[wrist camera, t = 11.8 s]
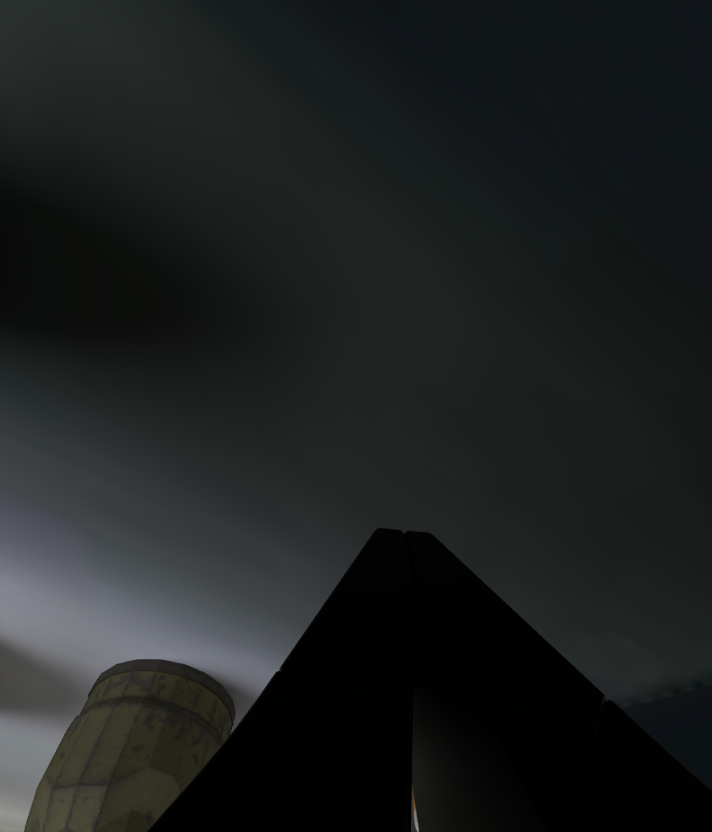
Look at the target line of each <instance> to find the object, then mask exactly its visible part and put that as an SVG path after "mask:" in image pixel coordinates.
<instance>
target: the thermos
mask: <svg viewBox="0 0 712 832" xmlns="http://www.w3.org/2000/svg"><path fill="white" fill-rule="evenodd" d="M234 718H235V709H234V705H233V701H232V699H231V697H230V696H229V695H228V693H227V692H226V691H225V689H224V688H223V687H222V686H221V685H220V684H219V683H217V682H216V681H215V680H213V679H212V678H210V677H209V676H208V675H206V674H205V673H202V672H200V671H198V670H195V669H193V668H191V667H188V666H186V665H183V664H178V663H173V662H168V661H164V660H134V661H129V662H125V663H121V664H117V665H115V666H113V667H111V668H110V669H108V670H106V671H105V672H103V673H101V675H100V676H99V678H98V679H97V681H96V682H95V683H94V685H93V687H92V689H91V691H90V693H89V695H88V699H87V701H86V703H85V705H84V707H83V709H82V711H81V713H80V715H78V716H76V718H75V719H74V721H73V722H72V723H71V725H70V726H69V728H68V729H67V731H66V733H65V735H64V737H63V739H62V741H61V743H60V745H59V746H58V748H57V750H56V752H55V754H54V756H53V758H52V760H51V762H50V764H49V766H48V768H47V770H46V772H45V774H44V775H43V777H42V779H41V781H40V783H39V785H38V787H37V790H36V793H35V796H34V800H33V803H32V806H31V809H30V812H29V816H28V819H27V822H26V825H25V830H24V832H146V831H147V830H148V829H149V828H150V826H151V825H152V824H153V823H154V822H155V821H156V820H157V819H158V817H159V816H160V815H161V814H162V813H163V812H164V811H165V810H166V809H167V807H168V806H169V805H170V804H171V803H172V802H173V801H174V800H175V799H176V797H177V796H178V795H179V794H180V793H181V792H182V791H183V790H184V789H185V787H186V786H187V785H188V784H189V783H190V782H191V781H192V779H193V778H194V777H195V776H196V775H197V774H198V772H199V771H200V770H201V769H202V768H203V767H204V765H205V764H206V763H207V762H208V761H209V760H210V758H211V757H212V756H213V755H214V754H215V752H216V751H217V750H218V749H219V748H220V747H221V745H222V744H223V743H224V742H225V741H226V740H227V738H228V737H229V736H230V732H231V729H232V726H233V722H234Z"/></svg>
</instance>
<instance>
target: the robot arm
mask: <svg viewBox="0 0 712 832" xmlns="http://www.w3.org/2000/svg"><path fill="white" fill-rule="evenodd" d="M605 700H606V698H605V695H604V694H603V693H602V692H601V691H600V690H599V689H598V688H596V687H595V686H594V685H593V684H592V683H591V682H590V681H589V680H588V679H587V678H586V677H585V676H584V675H583V674H581V673H580V672H579V671H578V670H577V669H576V668H575V667H574V666H573V665H572V664H571V663H570V662H569V661H567V660H566V659H565V658H564V657H563V656H562V655H561V654H560V653H559V652H558V651H557V650H556V649H555V648H554V647H552V646H551V645H550V644H549V643H548V642H547V641H546V640H545V639H544V638H543V637H542V636H541V635H540V634H539V633H537V632H536V631H535V630H534V629H533V628H532V627H531V626H530V625H529V624H528V623H527V622H526V621H525V620H524V619H522V618H521V617H520V616H519V615H518V614H517V613H516V612H515V611H514V610H513V609H512V608H511V607H510V606H509V605H507V604H506V603H505V602H504V601H503V600H502V599H501V598H500V597H499V596H498V595H497V594H496V593H495V592H494V591H492V590H491V589H490V588H489V587H488V586H487V585H486V584H485V583H484V582H483V581H482V580H481V579H480V578H479V577H477V576H476V575H475V574H474V573H473V572H472V571H471V570H470V569H469V568H468V567H467V566H466V565H465V564H464V563H462V562H461V561H460V560H459V559H458V558H457V557H456V556H455V555H454V554H453V553H452V552H451V551H450V550H448V549H447V548H446V547H445V546H444V545H443V544H442V543H441V542H440V541H439V540H438V539H437V538H436V537H435V536H433V535H432V534H430V533H427V532H417V531H406V532H405V533H404V534H403V532H402V531H401V530H395V529H385V528H378V529H376V530H375V531H374V533H373V534H372V535H371V537H370V538H369V540H368V541H367V543H366V544H365V546H364V547H363V548H362V550H361V551H360V553H359V554H358V556H357V557H356V559H355V560H354V561H353V563H352V564H351V566H350V567H349V569H348V570H347V572H346V573H345V574H344V576H343V577H342V579H341V580H340V582H339V583H338V585H337V586H336V588H335V589H334V590H333V592H332V593H331V595H330V596H329V598H328V599H327V601H326V602H325V603H324V605H323V606H322V608H321V609H320V611H319V612H318V614H317V615H316V616H315V618H314V619H313V621H312V622H311V624H310V625H309V627H308V628H307V629H306V631H305V632H304V634H303V635H302V637H301V638H300V640H299V641H298V642H297V644H296V645H295V647H294V648H293V650H292V651H291V653H290V654H289V655H288V657H287V658H286V660H285V661H284V663H283V664H282V666H281V667H280V670H279V671H277V672H276V673H275V674H274V676H273V677H272V679H271V680H270V682H269V683H268V684H267V686H266V687H265V689H264V690H263V692H262V693H261V694H260V696H259V697H258V699H257V700H256V701H255V703H254V704H253V705H252V707H251V708H250V709H249V711H248V712H247V713H246V715H245V716H244V717H243V719H242V720H241V721H240V723H239V724H238V725H237V727H236V728H235V729H234V731H233V732H232V733H231V735H230V736H229V737H228V738H227V740H226V741H225V742H224V743H223V744H222V745H221V747H220V748H219V749H218V750H217V751H216V752H215V754H214V755H213V756H212V757H211V758H210V760H209V761H208V762H207V763H206V764H205V765H204V767H203V768H202V769H201V770H200V771H199V772H198V774H197V775H196V776H195V777H194V778H193V779H192V781H191V782H190V783H189V784H188V785H187V786H186V787H185V789H184V790H183V791H182V792H181V793H180V794H179V795H178V796H177V797H176V799H175V800H174V801H173V802H172V803H171V804H170V805H169V806H168V807H167V809H166V810H165V811H164V812H163V813H162V814H161V815H160V816H159V817H158V819H157V820H156V821H155V822H154V823H153V824H152V825H151V826H150V828H149V829H148V830H147V831H146V832H411V798H412V797H411V796H412V787H413V794H414V801H415V808H416V815H417V822H418V829H419V832H712V790H711V789H710V788H709V787H708V786H706V785H705V784H704V783H703V782H702V781H701V780H699V779H698V778H697V777H696V776H695V775H694V774H692V773H691V772H690V771H689V770H688V769H687V768H686V767H685V766H683V765H682V764H681V763H680V762H679V761H678V760H677V759H676V758H674V757H673V756H672V755H671V754H670V753H669V752H668V751H666V749H664V748H663V747H662V746H661V745H660V744H659V743H658V742H657V741H656V740H654V739H653V738H652V737H651V736H650V735H649V734H648V733H647V732H645V731H644V730H643V729H642V728H641V727H640V726H639V725H638V724H637V723H636V722H635V721H634V720H632V719H631V718H630V717H629V716H628V715H627V714H626V713H625V712H624V711H623V710H622V709H621V708H620V707H618V706H617V705H616V704H615V703H614V702H613V701H611V700H608V701H606V702H605Z"/></svg>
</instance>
